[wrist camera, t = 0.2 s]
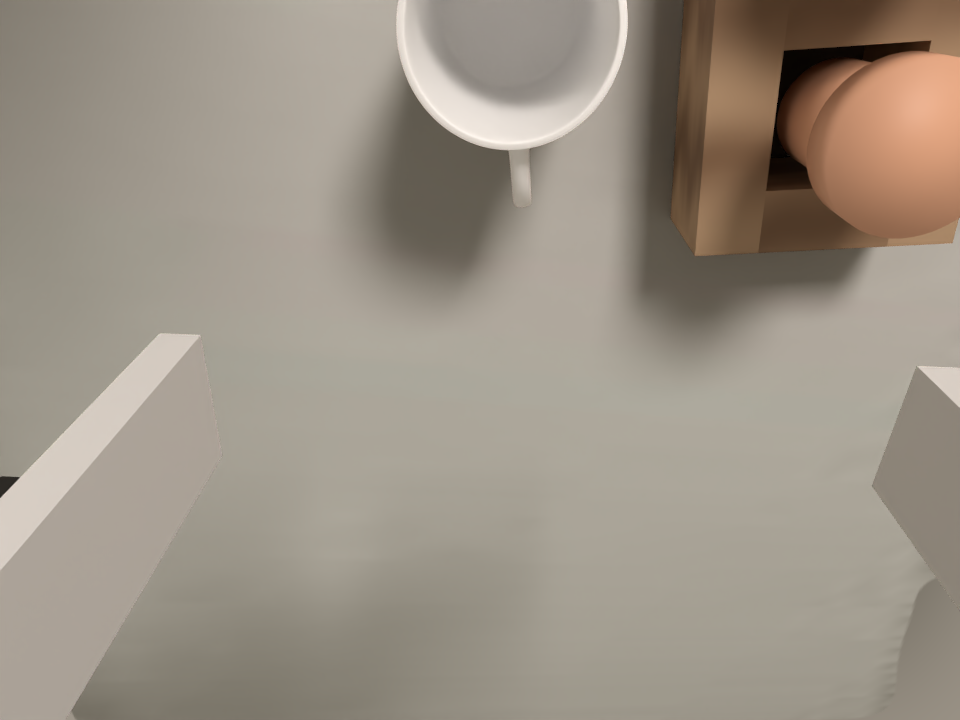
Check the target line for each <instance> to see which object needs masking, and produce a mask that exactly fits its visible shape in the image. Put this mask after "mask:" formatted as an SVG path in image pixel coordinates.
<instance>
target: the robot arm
mask: <svg viewBox="0 0 960 720" xmlns="http://www.w3.org/2000/svg"><path fill="white" fill-rule="evenodd" d="M221 457H222V450H221V445H220V439H219V434H218V428H217V423H216V417H215V411H214V406H213V400H212V395H211V389H210V384H209V378H208V373H207V367H206V362H205V356H204V350H203V345H202V339H201V335H187V334H164V333H160V334H159V335H158V336H157V337H156V338H155V339H154V340H153V341H152V342H151V343H150V344H149V345H148V346H147V347H146V348H145V349H144V350H143V351H142V352H141V353H140V354H139V355H138V356H137V357H136V358H135V359H134V360H133V361H132V363H131V364H130V365H129V366H128V367H127V368H126V369H125V370H124V371H123V372H122V373H121V374H120V375H119V376H118V377H117V378H116V379H115V380H114V381H113V382H112V383H111V384H110V385H109V386H108V387H107V388H106V389H105V390H104V391H103V392H102V394H101V395H100V396H99V397H98V398H97V399H96V400H95V401H94V402H93V403H92V404H91V405H90V406H89V407H88V408H87V409H86V410H85V411H84V412H83V413H82V414H81V415H80V416H79V417H78V418H77V419H76V420H75V421H74V422H73V423H72V425H71V426H70V427H69V428H68V429H67V430H66V431H65V432H64V433H63V434H62V435H61V436H60V437H59V438H58V439H57V440H56V441H55V442H54V443H53V444H52V445H51V446H50V447H49V448H48V449H47V450H46V451H45V452H44V453H43V454H42V456H41V457H40V458H39V459H38V460H37V461H36V462H35V463H34V464H33V465H32V466H31V467H30V468H29V469H28V470H27V471H26V472H25V473H24V474H23V475H22V476H21V477H5V476H2V477H0V720H66V718H67V717H68V715H69V713H70V712H71V710H72V708H73V707H74V705H75V703H76V702H77V700H78V698H79V697H80V695H81V693H82V692H83V690H84V688H85V686H86V685H87V683H88V681H89V680H90V678H91V676H92V675H93V673H94V671H95V670H96V668H97V666H98V665H99V663H100V661H101V660H102V658H103V656H104V654H105V653H106V651H107V649H108V648H109V646H110V644H111V643H112V641H113V639H114V638H115V636H116V634H117V633H118V631H119V629H120V627H121V626H122V624H123V622H124V621H125V619H126V617H127V616H128V614H129V612H130V611H131V609H132V607H133V606H134V604H135V602H136V601H137V599H138V597H139V595H140V594H141V592H142V590H143V589H144V587H145V585H146V584H147V582H148V580H149V579H150V577H151V575H152V574H153V572H154V570H155V569H156V567H157V565H158V563H159V562H160V560H161V558H162V557H163V555H164V553H165V552H166V550H167V548H168V547H169V545H170V543H171V542H172V540H173V538H174V537H175V535H176V533H177V531H178V530H179V528H180V526H181V525H182V523H183V521H184V520H185V518H186V516H187V515H188V513H189V511H190V510H191V508H192V506H193V505H194V503H195V501H196V499H197V498H198V496H199V494H200V493H201V491H202V489H203V488H204V486H205V484H206V483H207V481H208V479H209V478H210V476H211V474H212V473H213V471H214V469H215V467H216V466H217V464H218V462H219V461H220V459H221ZM872 487H873V488H874V490H875V491H876V492H877V494H878V495H879V497H880V498H881V500H882V501H883V502H884V504H885V505H886V507H887V508H888V510H889V511H890V512H891V514H892V515H893V517H894V518H895V519H896V521H897V522H898V524H899V525H900V527H901V528H902V529H903V531H904V532H905V534H906V535H907V537H908V538H909V539H910V541H911V542H912V544H913V545H914V547H915V548H916V549H917V551H918V552H919V554H920V555H921V556H922V558H923V559H924V561H925V562H926V564H927V565H928V566H929V568H930V569H931V571H932V572H933V574H934V575H935V576H936V578H937V579H938V580H939V582H940V583H941V585H942V586H943V588H944V589H945V591H946V592H947V593H948V595H949V596H950V598H951V599H952V601H953V602H954V603H955V605H956V606H957V608H958V609H959V611H960V368H951V367H928V366H917V367H916V369H915V372H914V375H913V377H912V380H911V383H910V385H909V388H908V391H907V393H906V396H905V399H904V401H903V404H902V407H901V409H900V412H899V415H898V417H897V420H896V423H895V425H894V428H893V431H892V433H891V436H890V439H889V441H888V444H887V447H886V449H885V452H884V455H883V457H882V460H881V463H880V465H879V468H878V471H877V473H876V476H875V479H874V481H873V484H872Z"/></svg>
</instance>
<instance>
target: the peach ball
mask: <svg viewBox="0 0 960 720" xmlns="http://www.w3.org/2000/svg"><path fill="white" fill-rule="evenodd" d="M777 133H778V137H779V140H780V143H781V145H782V147H783V148H784V150H785V151H786V152H787V154H789V155H790V156H791V157H792V158H793V159H795V160H796V161H798V162H799V163H801V164H802V165H804V166H805V167H807V171H808V176H809V180H810V182H811V185H812V188H813V189H814V191H815V193H816V195H817V196H818V197H819V199H820V200H821V201H822V203H824V204H825V205H826V206H827V207H828V208H829V209H830V210H832V211H833V212H834V213H836V214H837V215H838V216H840V217H841V218H842V219H844V220H845V221H846V222H848V223H849V224H850V225H852V226H853V227H855V228H857V229H858V230H860V231H862V232H864V233H867V234H869V235H873V236H876V237H882V238H893V239H901V238H910V237H915V236H920V235H924V234H927V233H930V232H933V231H935V230H938V229H940V228H942V227H944V226H946V225H948V224H950V223H952V222H953V221H955V220H957V219H958V218H960V57H955V56H950V55H945V54H940V53H934V52H927V51H907V52H900V53H896V54H892V55H888V56H885V57H883V58H880V59H878V60H875V61H873V62H872V63H871V62H867V61H863V60H859V59H855V58H849V57H838V58H831V59H828V60H824V61H822V62H819V63H817V64H815V65H813V66H812V67H810V68H809V69H807V70H806V71H804V72H803V73H802V74H801V75H800V76H799V77H798V78H797V79H796V80H795V81H794V82H793V83H792V84H791V86H790V87H789V88H788V90H787V92H786V93H785V95H784V97H783V99H782V101H781V104H780V107H779V110H778V115H777Z"/></svg>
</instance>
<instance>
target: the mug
mask: <svg viewBox="0 0 960 720" xmlns="http://www.w3.org/2000/svg"><path fill="white" fill-rule="evenodd" d="M627 27H628V13H627V2H626V0H398V5H397V15H396V36H397V45H398V51H399V56H400V60H401V64H402V67H403V70H404V73H405V75H406V78H407V80H408V82H409V84H410V86H411V88H412V90H413V92H414V94H415V95H416V97H417V99H418V100H419V102H420V103H421V104H422V106H423V107H424V108H425V109H426V111H427V112H428V113H429V114H430V115H431V116H432V117H433V118H434V119H435V120H436V121H437V122H438V123H439V124H440V125H442V126H443V127H444V128H445V129H447V130H448V131H450V132H451V133H453V134H454V135H456V136H458V137H459V138H461V139H463V140H465V141H468V142H470V143H473V144H475V145H478V146H482V147H486V148H490V149H497V150H508V152H509V159H510V171H511V183H512V195H513V203H514V205H515V206H516V207H527V206H529V205H530V204H531V178H530V148H534V147H538V146H541V145H544V144H547V143H550V142H552V141H554V140H556V139H558V138H560V137H562V136H564V135H566V134H567V133H569V132H570V131H572V130H573V129H575V128H576V127H577V126H579V125H580V124H581V123H582V122H583V121H585V120H586V119H587V118H588V117H589V116H590V115H591V114H592V113H593V111H594V110H595V109H596V108H597V107H598V106H599V104H600V103H601V102H602V100H603V99H604V97H605V96H606V94H607V93H608V91H609V89H610V87H611V86H612V84H613V82H614V80H615V77H616V75H617V73H618V70H619V68H620V65H621V62H622V58H623V54H624V50H625V45H626V38H627Z"/></svg>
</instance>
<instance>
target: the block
mask: <svg viewBox="0 0 960 720" xmlns="http://www.w3.org/2000/svg"><path fill="white" fill-rule="evenodd" d="M857 45H865V48H864V54H863V61H867V62H871V63H872V62H873V61H875V60H878V59H880V58H883V57H885V56H888V55H892V54H896V53H900V52H907V51H927V52H934V53H940V54H945V55H950V56H955V57H960V0H684V8H683V24H682V40H681V56H680V72H679V89H678V105H677V121H676V137H675V153H674V169H673V185H672V201H671V217H670V218H671V220H672V222H673V223H674V225H675V226H676V228H677V229H678V231H679V232H680V234H681V235H682V237H683V238H684V240H685V242H686V243H687V245H688V246H689V248H690V249H691V251H692V252H693V254H694V255H695V256H707V255H727V254H747V253H766V252H786V251H806V250H826V249H845V248H865V247H885V246H905V245H924V244H944V243H952V242H953V239H954V235H955V231H956V227H957V223H958V220H959V218H958V219H957V220H955V221H953V222H952V223H950V224H948V225H946V226H944V227H942V228H940V229H938V230H935V231H933V232H930V233H927V234H924V235H920V236H915V237H910V238H901V239H893V238H882V237H876V236H873V235H869V234H867V233H864V232H862V231H860V230H858V229H857V228H855V227H853V226H852V225H850V224H849V223H848V222H846V221H845V220H844V219H842V218H841V217H840V216H838V215H837V214H836V213H834V212H833V211H832V210H830V209H829V208H828V207H827V206H826V205H825V204H824V203H822V201H821V200H820V199H819V197H818V196H817V195H816V193H815V191H814V189H813V188H812V185H811V182H810V180H809V176H808V171H807V167H805V166H804V165H802V164H801V163H799V162H798V161H796V160H795V159H793V158H792V157H788V158H772V159H770V155H771V147H772V139H773V132H774V124H775V116H776V108H777V100H778V92H779V84H780V76H781V68H782V60H783V52H784V51H785V50H799V49H814V48H828V47H843V46H857Z"/></svg>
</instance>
